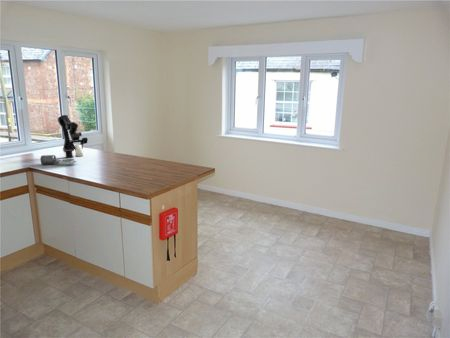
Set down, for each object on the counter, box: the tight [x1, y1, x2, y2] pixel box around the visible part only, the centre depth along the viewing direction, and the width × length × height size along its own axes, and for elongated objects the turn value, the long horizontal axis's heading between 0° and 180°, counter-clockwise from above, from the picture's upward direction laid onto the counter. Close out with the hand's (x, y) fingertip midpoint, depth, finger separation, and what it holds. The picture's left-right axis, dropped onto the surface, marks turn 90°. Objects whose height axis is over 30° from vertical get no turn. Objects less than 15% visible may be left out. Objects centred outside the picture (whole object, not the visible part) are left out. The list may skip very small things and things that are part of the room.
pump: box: [74, 144, 84, 158], centre depth 293 cm, size 6×6×10 cm
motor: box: [40, 154, 77, 167], centre depth 295 cm, size 12×26×8 cm, turn 98°
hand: (78, 149), depth 292 cm, fingers closed on pump, 5 cm apart
